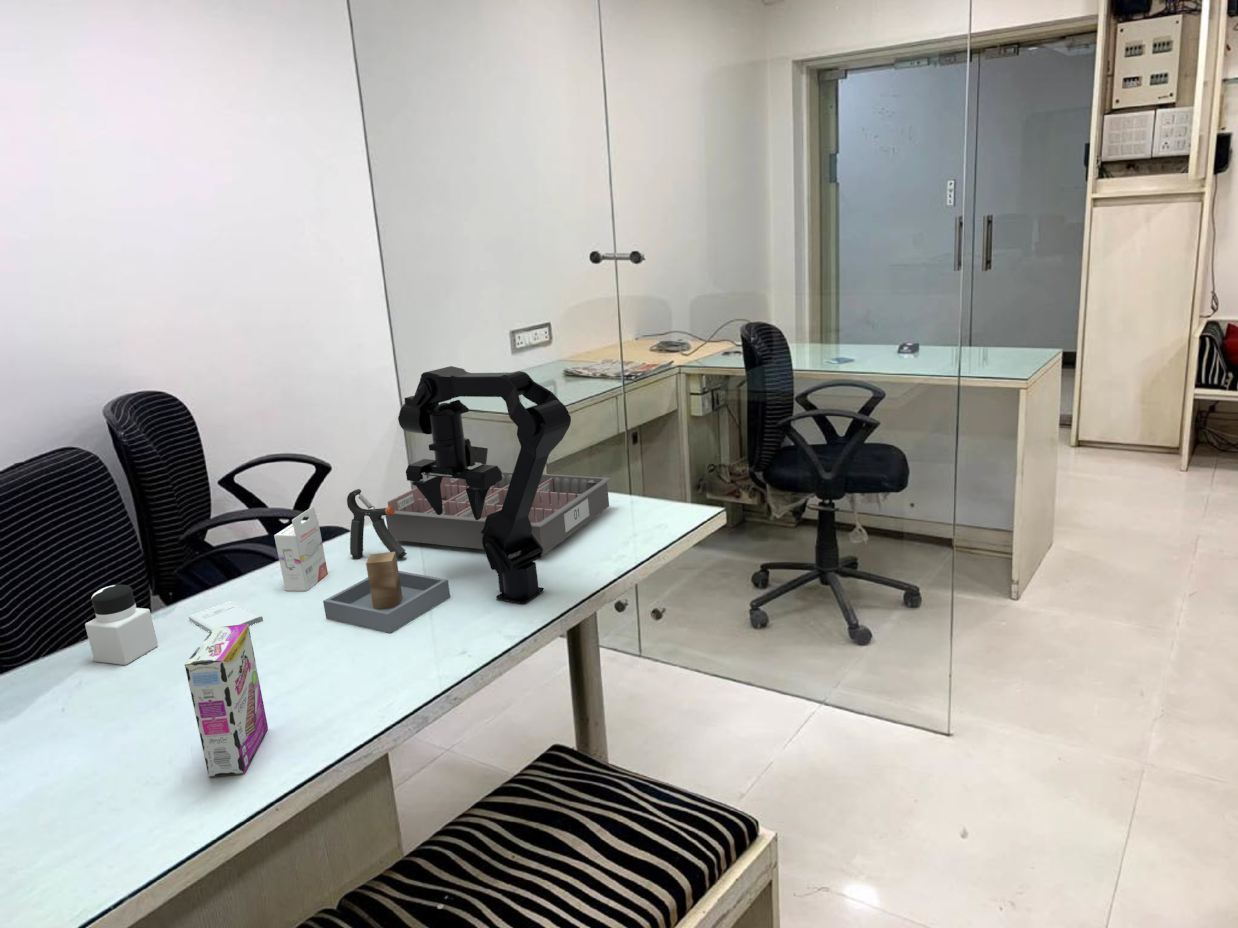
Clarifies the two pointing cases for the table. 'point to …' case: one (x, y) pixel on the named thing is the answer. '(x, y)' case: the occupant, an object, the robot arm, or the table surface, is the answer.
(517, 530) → the robot arm
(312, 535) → the ink cartridge box
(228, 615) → the white power bank
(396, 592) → the walnut block
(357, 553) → the hand grip strengthener
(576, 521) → the organizer tray
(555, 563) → the table surface
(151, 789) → the table surface
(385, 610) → the charcoal bin
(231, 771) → the candy bar box
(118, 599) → the medicine bottle
